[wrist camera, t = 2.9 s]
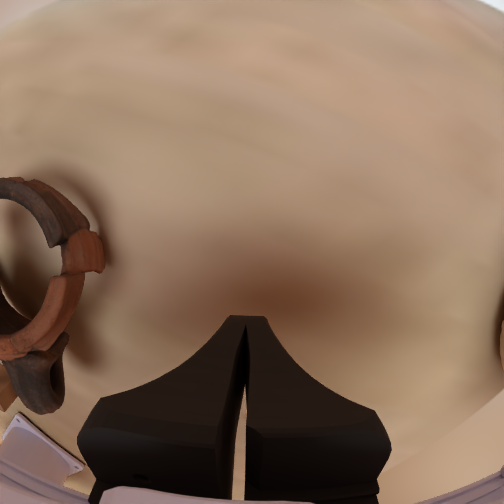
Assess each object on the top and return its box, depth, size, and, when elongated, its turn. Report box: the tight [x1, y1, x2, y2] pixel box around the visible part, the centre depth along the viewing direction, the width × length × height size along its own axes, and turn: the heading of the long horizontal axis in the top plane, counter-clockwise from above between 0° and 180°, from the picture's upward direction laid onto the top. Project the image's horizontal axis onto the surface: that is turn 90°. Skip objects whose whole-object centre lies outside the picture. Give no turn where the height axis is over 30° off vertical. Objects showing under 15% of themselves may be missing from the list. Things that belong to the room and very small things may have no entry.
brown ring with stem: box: [0, 177, 105, 415], centre depth 13 cm, size 12×10×8 cm
